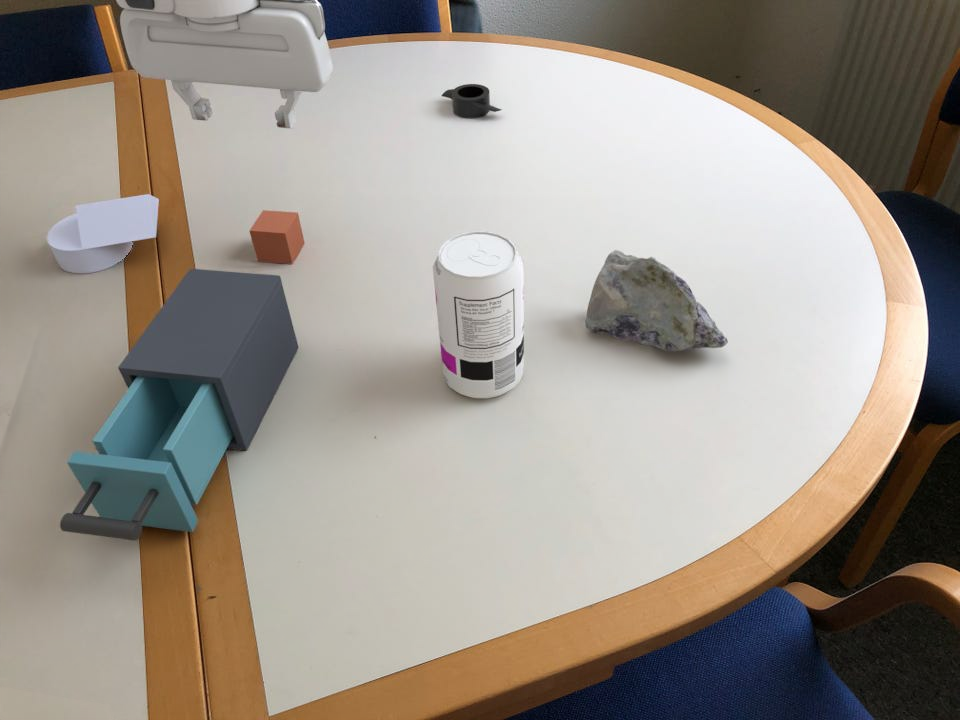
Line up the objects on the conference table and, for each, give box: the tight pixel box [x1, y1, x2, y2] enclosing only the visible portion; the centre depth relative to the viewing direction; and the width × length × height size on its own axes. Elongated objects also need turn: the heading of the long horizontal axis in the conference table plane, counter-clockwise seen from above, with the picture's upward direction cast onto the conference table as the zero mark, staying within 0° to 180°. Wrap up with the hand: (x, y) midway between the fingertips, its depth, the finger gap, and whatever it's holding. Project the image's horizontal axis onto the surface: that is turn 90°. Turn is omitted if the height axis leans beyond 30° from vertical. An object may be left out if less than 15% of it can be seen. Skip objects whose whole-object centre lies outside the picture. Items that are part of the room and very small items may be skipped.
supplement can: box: [432, 230, 525, 400], centre depth 76 cm, size 8×8×15 cm
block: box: [248, 209, 306, 265], centre depth 96 cm, size 4×4×4 cm
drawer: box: [59, 376, 234, 542], centre depth 68 cm, size 18×8×8 cm, turn 170°
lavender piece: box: [46, 193, 160, 274], centre depth 97 cm, size 9×7×13 cm
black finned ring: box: [441, 83, 503, 119], centre depth 124 cm, size 8×10×3 cm
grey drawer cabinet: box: [117, 268, 299, 451], centre depth 77 cm, size 15×10×10 cm, turn 170°
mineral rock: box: [585, 249, 729, 352], centre depth 80 cm, size 13×11×10 cm
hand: (244, 121), depth 83 cm, fingers open, 8 cm apart
